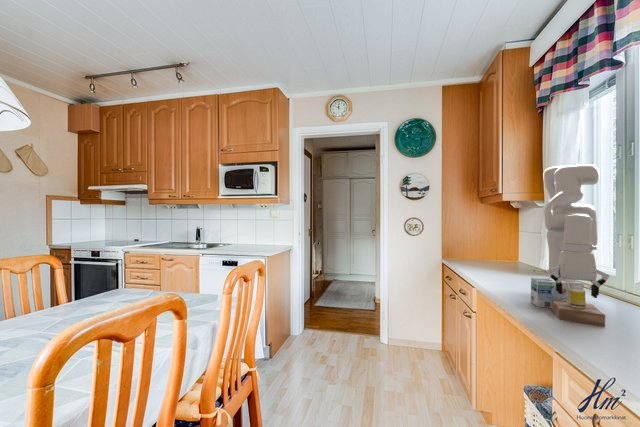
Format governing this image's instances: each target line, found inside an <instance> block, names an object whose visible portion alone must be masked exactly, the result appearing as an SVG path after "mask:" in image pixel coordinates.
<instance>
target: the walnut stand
mask: <svg viewBox="0 0 640 427" xmlns="http://www.w3.org/2000/svg"><path fill="white" fill-rule="evenodd" d="M585 306H586V307H585V308H575V307H571V306H569V305H568V301H567V302H566V301H557V300H552V308H551V312H552V313H553V314H554V315H555V316H556V317H557V319H558V320H559V321H562V320H563V322H570V323H577V324H583V325H584V324H585V325H591V326H599V327H606V314H605V313H603V311H601V310H599V309H598V308H597V307H596V306H595V305H593V304H591V303H585Z"/></svg>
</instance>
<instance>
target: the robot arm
mask: <svg viewBox="0 0 640 427" xmlns="http://www.w3.org/2000/svg"><path fill="white" fill-rule="evenodd" d="M600 175H601V173H600V170H599V168H598V167H597V166H596V165H595V164H576V165H559V166H558V165H557V166H551V167H547V168H546V169H545V170H544V172H543V175H542V176H543V183H544V186H545V189H546V190H547V193H548V196H549V201H548V202H547V204H546V205H545V207H544V226H545V228H546V230H547V231H546V241H547V249H548V269H547V270H546V272H547V274H548V278H549V279H553V280H554V281H556V291H558V293H559V294H562V283H561V282H562V281H565V282H567V283H568V288H570V287H569V283H571V282H574V283H576V280H577V281H586V282H591V283H592V284H591V285H590V286H591V288H590V296H592V298H595V299H597V298H598V296H600V292H599V291H600V287H601V286H602V285H604V284H606V282H607V281H608V279H609V278H610V274H607V273H606V272H603V271H601V270H599V269H597V264H596V263H597V262H596V258H595V254H594V253H593V251H595V250H596V251H597V245H598V222H597V212H596V209H595V207H594V206H593V205H592V204H588V203H586V204H585V203H577V202H579V201H581V199H582V198H583V196H584V191H583V186H592V185H596V184H598V183H599V181H600ZM598 275H599V276H601V278H599V279H598V280H597V276H598Z"/></svg>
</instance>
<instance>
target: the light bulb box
mask: <svg viewBox="0 0 640 427" xmlns="http://www.w3.org/2000/svg"><path fill="white" fill-rule="evenodd" d="M530 279H531V280H530V281H531V282H530V303H532V304H533V305H535V306H536V307H538V308H539V307H540V308H546V309H547V308H549V309H552V300H557V301H566V302H568V283H567V282H565V281H562V282H561V283H562V294H559V293H558V291H556V281H554V280H553V279H549V277H546V278H545V277H533V276H532V277H531V278H530Z"/></svg>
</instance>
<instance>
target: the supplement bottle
mask: <svg viewBox="0 0 640 427" xmlns="http://www.w3.org/2000/svg"><path fill="white" fill-rule="evenodd" d="M569 287H570V288H568V298H567V302H568V305H569V306H571V307H575V308H585V307H586V306H585V304H586V290H585V289H584V288H585V287H584V284H583V283H581V282H575V283H574V282H571V283H569Z"/></svg>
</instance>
